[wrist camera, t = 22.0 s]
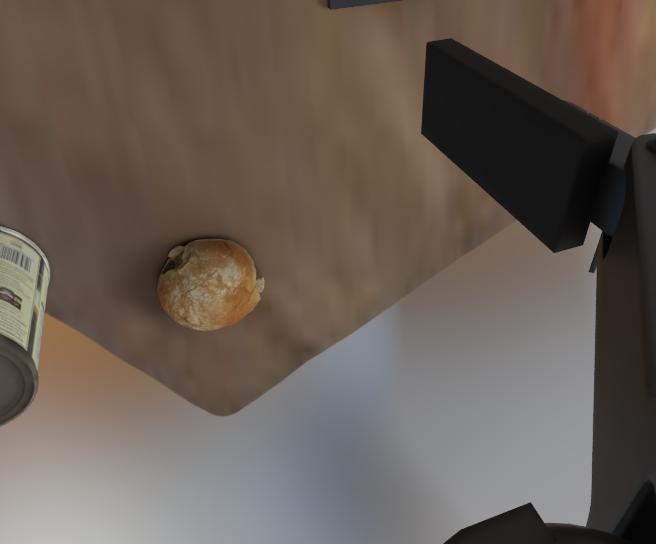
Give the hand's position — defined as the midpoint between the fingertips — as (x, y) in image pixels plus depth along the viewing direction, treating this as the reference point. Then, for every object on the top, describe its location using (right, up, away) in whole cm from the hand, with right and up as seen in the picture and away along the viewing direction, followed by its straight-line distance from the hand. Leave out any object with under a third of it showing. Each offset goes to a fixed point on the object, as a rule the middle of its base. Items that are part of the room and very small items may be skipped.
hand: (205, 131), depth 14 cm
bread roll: (-9, -4, +42) cm, 43 cm away
